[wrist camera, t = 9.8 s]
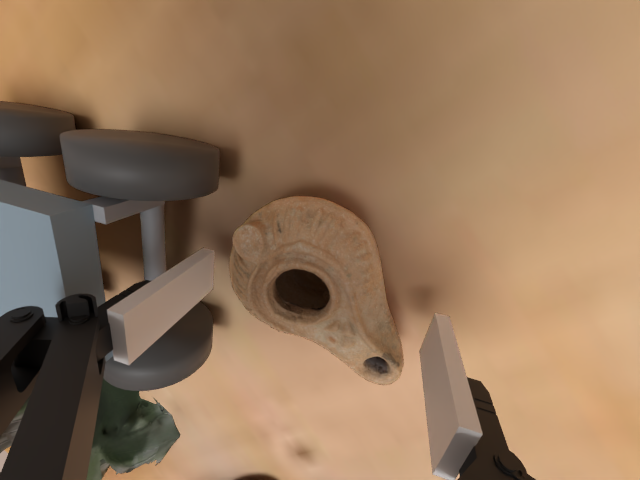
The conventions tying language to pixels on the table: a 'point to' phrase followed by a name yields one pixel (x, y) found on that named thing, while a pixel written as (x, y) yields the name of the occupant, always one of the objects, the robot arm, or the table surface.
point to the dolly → (80, 216)
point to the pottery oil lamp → (318, 282)
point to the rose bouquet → (120, 432)
